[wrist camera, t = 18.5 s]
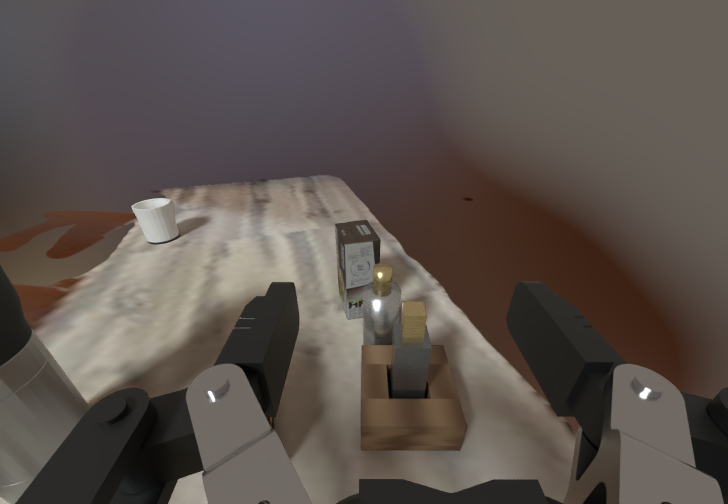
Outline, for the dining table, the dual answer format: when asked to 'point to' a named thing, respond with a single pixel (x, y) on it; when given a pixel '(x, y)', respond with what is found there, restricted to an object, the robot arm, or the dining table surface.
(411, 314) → the square bit
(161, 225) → the mug
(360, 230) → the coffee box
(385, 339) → the silver bottle
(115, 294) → the dining table surface
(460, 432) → the socket block
